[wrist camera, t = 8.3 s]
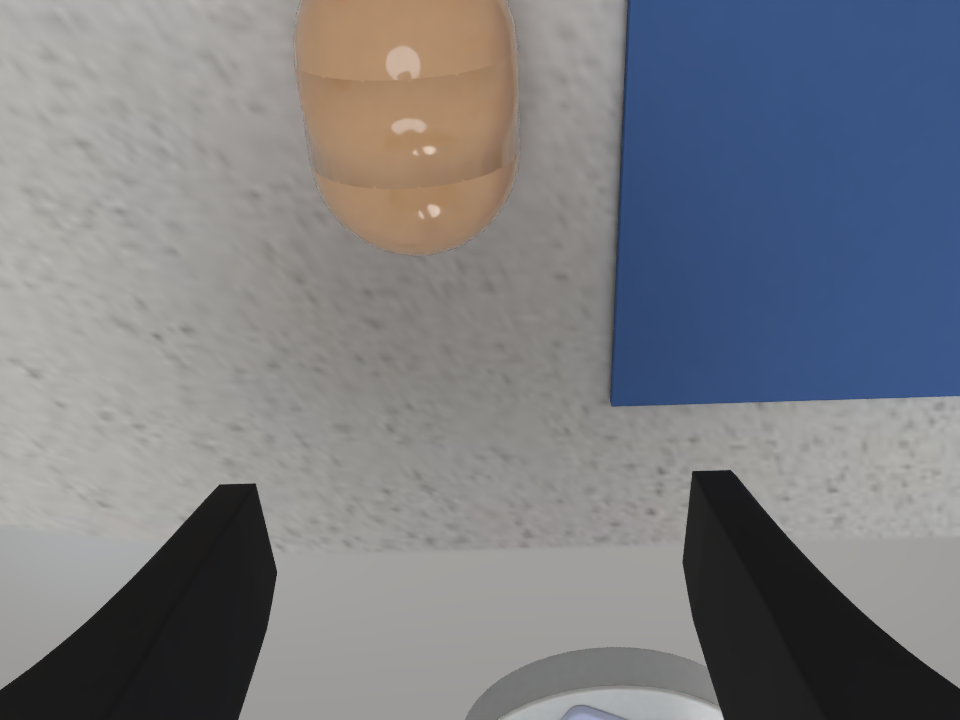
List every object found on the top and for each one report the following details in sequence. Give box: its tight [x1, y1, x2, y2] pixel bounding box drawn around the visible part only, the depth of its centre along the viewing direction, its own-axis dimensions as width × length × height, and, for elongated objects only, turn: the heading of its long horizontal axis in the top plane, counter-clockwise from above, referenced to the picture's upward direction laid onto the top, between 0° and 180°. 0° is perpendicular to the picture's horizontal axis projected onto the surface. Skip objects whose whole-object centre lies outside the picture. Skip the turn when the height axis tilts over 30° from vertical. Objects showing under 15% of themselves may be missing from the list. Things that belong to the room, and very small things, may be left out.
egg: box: [293, 0, 520, 256], centre depth 17 cm, size 6×4×4 cm
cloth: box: [610, 0, 960, 406], centre depth 20 cm, size 16×12×1 cm
